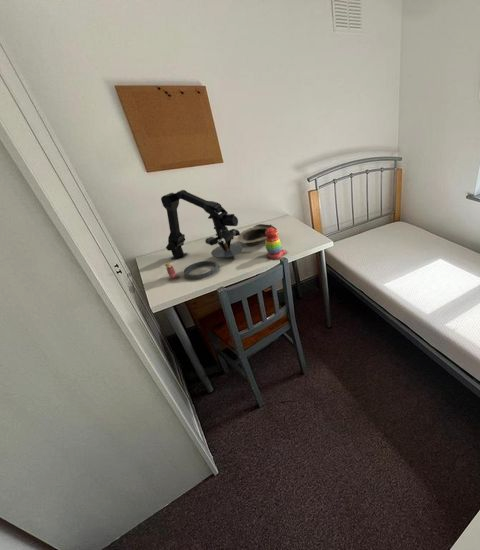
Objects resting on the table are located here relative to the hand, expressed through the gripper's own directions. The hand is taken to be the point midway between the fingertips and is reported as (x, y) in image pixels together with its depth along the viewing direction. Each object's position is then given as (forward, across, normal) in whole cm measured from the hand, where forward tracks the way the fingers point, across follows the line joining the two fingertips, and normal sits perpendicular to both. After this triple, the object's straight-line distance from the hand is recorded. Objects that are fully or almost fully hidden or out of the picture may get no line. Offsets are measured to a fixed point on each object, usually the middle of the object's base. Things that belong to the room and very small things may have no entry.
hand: (226, 249), depth 175 cm
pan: (+6, -19, -3) cm, 20 cm away
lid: (+1, 0, 0) cm, 1 cm away
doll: (+6, -31, +4) cm, 32 cm away
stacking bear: (+6, +19, -21) cm, 29 cm away
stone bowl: (+6, +24, +4) cm, 25 cm away
